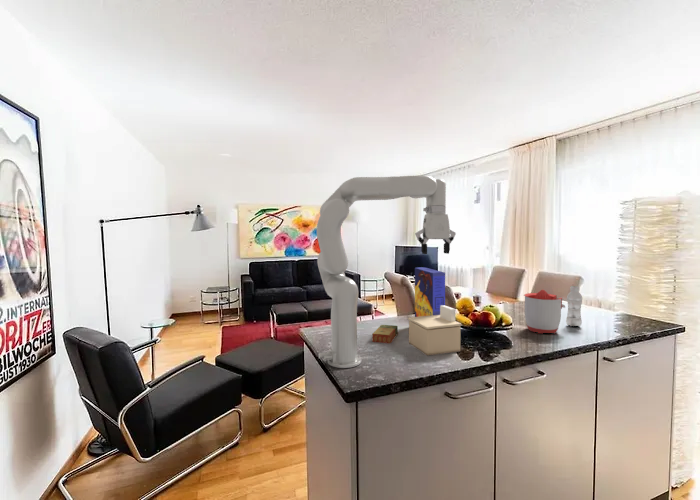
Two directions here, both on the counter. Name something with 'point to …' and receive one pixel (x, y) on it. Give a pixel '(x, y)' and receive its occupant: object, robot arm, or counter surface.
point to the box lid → (437, 319)
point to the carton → (385, 334)
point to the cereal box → (429, 291)
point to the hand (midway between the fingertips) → (435, 253)
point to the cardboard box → (434, 339)
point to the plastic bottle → (574, 307)
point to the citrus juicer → (543, 312)
